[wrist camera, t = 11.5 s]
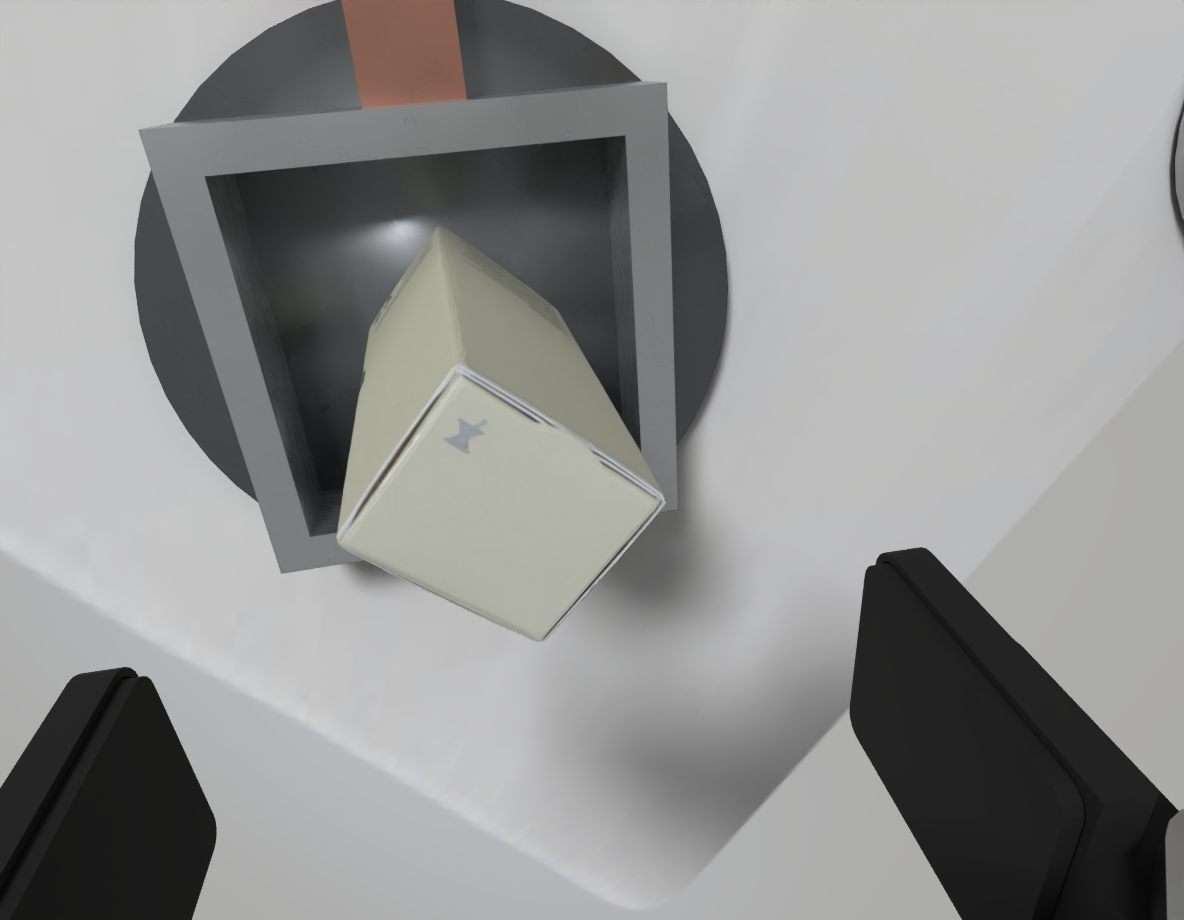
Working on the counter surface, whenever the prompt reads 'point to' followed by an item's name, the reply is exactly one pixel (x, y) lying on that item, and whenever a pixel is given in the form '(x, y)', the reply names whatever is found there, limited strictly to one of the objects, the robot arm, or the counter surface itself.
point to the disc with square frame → (413, 231)
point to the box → (488, 448)
